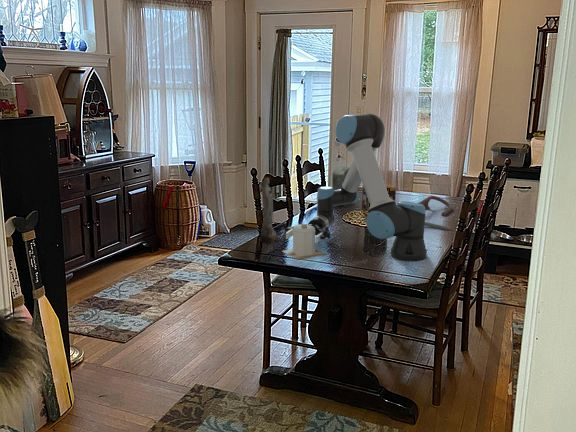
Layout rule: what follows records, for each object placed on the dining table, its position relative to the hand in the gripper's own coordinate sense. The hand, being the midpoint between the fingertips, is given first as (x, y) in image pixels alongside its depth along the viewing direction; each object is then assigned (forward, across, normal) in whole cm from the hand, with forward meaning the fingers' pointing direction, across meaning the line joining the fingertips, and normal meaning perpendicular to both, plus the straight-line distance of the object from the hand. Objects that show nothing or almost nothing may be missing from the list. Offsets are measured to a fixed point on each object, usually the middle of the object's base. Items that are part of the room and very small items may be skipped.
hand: (301, 237), depth 231 cm
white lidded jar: (-3, 0, -7) cm, 8 cm away
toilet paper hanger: (-104, -40, -9) cm, 112 cm away
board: (-3, 0, -9) cm, 9 cm away
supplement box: (-87, -13, -9) cm, 88 cm away
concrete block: (-104, +14, -9) cm, 105 cm away
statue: (-16, +22, -9) cm, 29 cm away
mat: (-21, -3, -9) cm, 23 cm away
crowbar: (-71, -34, -9) cm, 79 cm away
